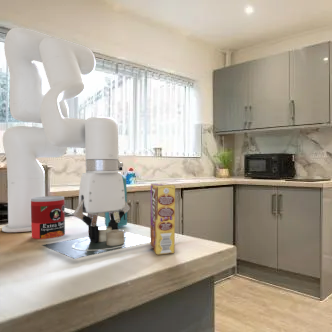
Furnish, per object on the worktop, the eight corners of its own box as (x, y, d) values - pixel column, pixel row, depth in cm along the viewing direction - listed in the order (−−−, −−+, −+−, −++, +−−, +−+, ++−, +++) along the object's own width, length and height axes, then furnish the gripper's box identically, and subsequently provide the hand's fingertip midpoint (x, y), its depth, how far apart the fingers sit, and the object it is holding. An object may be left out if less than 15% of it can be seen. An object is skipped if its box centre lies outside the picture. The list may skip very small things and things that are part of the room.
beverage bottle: (119, 232, 95) (118, 163, 94) (99, 231, 96) (98, 163, 96) (132, 227, 101) (131, 163, 101) (113, 227, 102) (112, 163, 102)
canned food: (40, 243, 82) (40, 199, 82) (25, 239, 87) (24, 198, 86) (71, 237, 89) (70, 196, 89) (55, 234, 93) (54, 195, 93)
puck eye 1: (91, 240, 82) (91, 228, 82) (106, 237, 85) (106, 225, 85) (99, 242, 79) (99, 230, 79) (115, 239, 82) (115, 227, 82)
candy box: (176, 253, 72) (175, 184, 72) (156, 255, 71) (155, 185, 70) (168, 244, 80) (167, 182, 80) (149, 246, 79) (149, 183, 78)
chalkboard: (41, 248, 78) (41, 244, 78) (120, 233, 93) (120, 230, 93) (74, 262, 66) (74, 258, 66) (158, 243, 82) (158, 239, 82)
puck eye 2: (103, 243, 78) (103, 231, 78) (119, 240, 81) (118, 228, 81) (111, 246, 76) (111, 233, 75) (127, 243, 79) (127, 230, 79)
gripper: (125, 166, 91) (126, 232, 91) (60, 167, 78) (61, 244, 78) (140, 166, 86) (141, 235, 86) (73, 167, 73) (75, 249, 73)
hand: (103, 239), depth 82 cm, fingers closed on puck eye 1, 4 cm apart
